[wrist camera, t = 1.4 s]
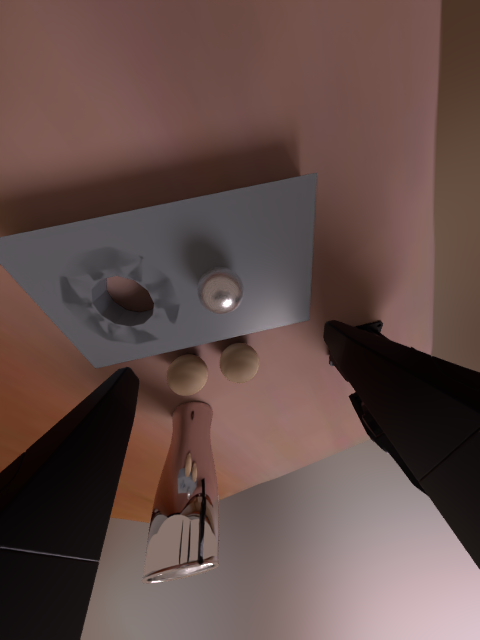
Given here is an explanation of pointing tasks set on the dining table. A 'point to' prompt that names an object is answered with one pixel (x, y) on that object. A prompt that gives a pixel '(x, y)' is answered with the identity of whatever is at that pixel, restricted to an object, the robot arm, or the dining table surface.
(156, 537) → the beer glass
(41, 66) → the dining table surface
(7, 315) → the dining table surface
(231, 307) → the steel ball
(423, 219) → the dining table surface
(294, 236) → the plate
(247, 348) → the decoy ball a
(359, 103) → the dining table surface
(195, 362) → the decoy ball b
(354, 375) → the robot arm
